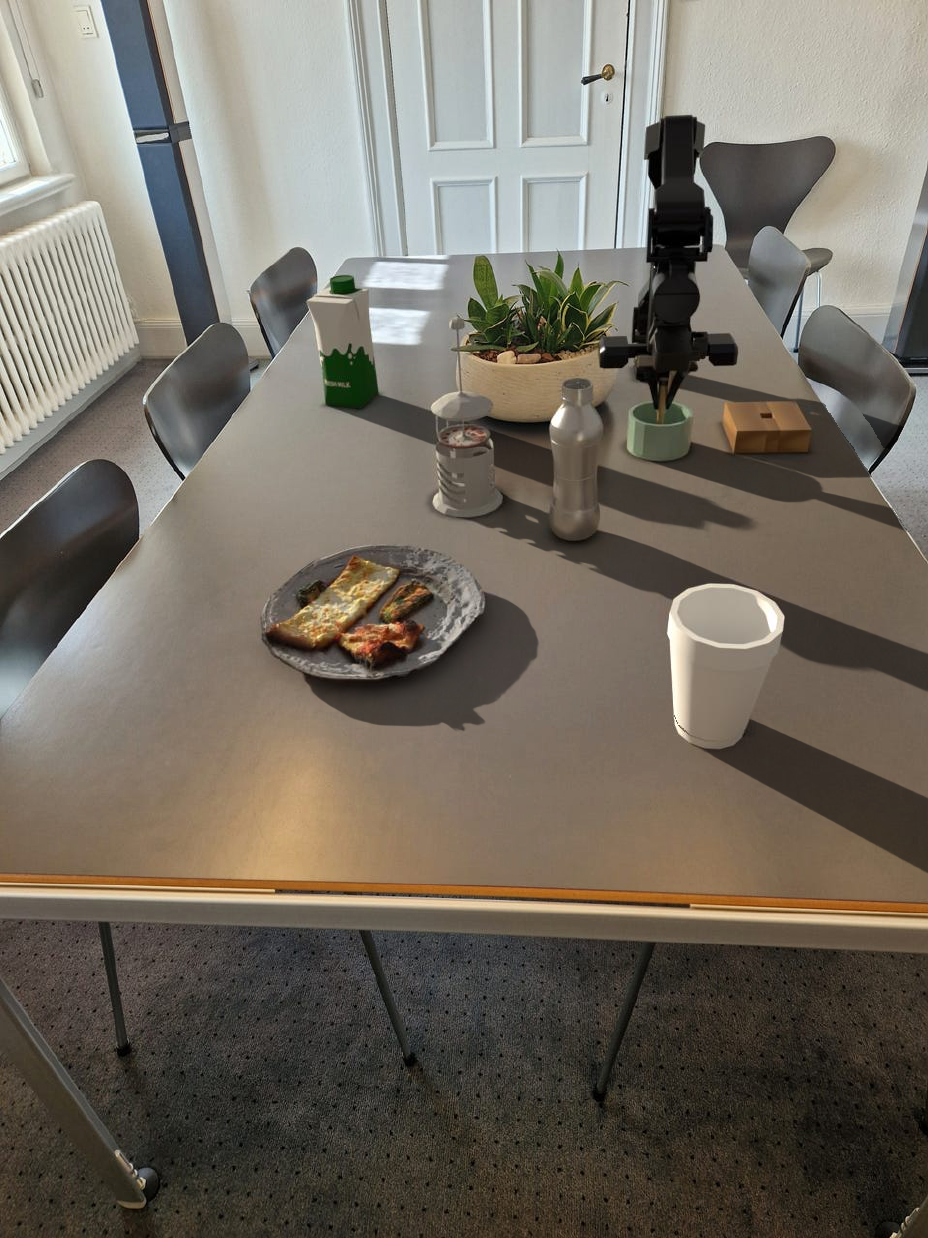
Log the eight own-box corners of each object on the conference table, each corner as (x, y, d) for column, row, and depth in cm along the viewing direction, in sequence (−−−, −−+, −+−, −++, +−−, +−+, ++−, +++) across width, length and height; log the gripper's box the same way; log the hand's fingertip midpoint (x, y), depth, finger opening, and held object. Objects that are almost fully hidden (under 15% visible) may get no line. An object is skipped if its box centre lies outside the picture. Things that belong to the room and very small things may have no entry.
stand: (733, 453, 125) (736, 430, 123) (722, 423, 133) (725, 402, 131) (807, 452, 124) (812, 429, 122) (791, 422, 132) (795, 400, 130)
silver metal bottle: (606, 525, 111) (613, 375, 99) (589, 551, 106) (595, 397, 94) (559, 517, 113) (560, 370, 101) (541, 542, 108) (540, 391, 96)
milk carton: (385, 392, 152) (372, 275, 140) (362, 411, 145) (345, 291, 133) (342, 387, 155) (325, 272, 143) (317, 406, 148) (297, 288, 136)
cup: (629, 461, 125) (631, 426, 121) (624, 434, 132) (627, 401, 129) (693, 460, 124) (697, 425, 120) (685, 433, 131) (688, 399, 128)
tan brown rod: (654, 439, 126) (659, 380, 121) (654, 435, 127) (658, 377, 122) (663, 439, 126) (669, 380, 121) (662, 435, 127) (668, 377, 122)
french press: (452, 524, 113) (438, 336, 98) (415, 489, 121) (397, 311, 106) (515, 504, 116) (511, 319, 101) (476, 472, 125) (466, 297, 110)
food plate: (391, 722, 83) (387, 695, 81) (220, 651, 93) (213, 626, 91) (516, 592, 99) (515, 567, 97) (359, 544, 110) (355, 521, 108)
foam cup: (647, 696, 84) (658, 588, 76) (739, 687, 84) (759, 578, 76) (674, 766, 76) (689, 654, 68) (776, 756, 77) (802, 643, 69)
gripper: (603, 320, 109) (599, 433, 119) (752, 315, 108) (736, 430, 117) (600, 294, 118) (596, 401, 128) (737, 290, 116) (723, 399, 126)
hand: (661, 408), depth 124 cm, fingers closed on tan brown rod, 1 cm apart
